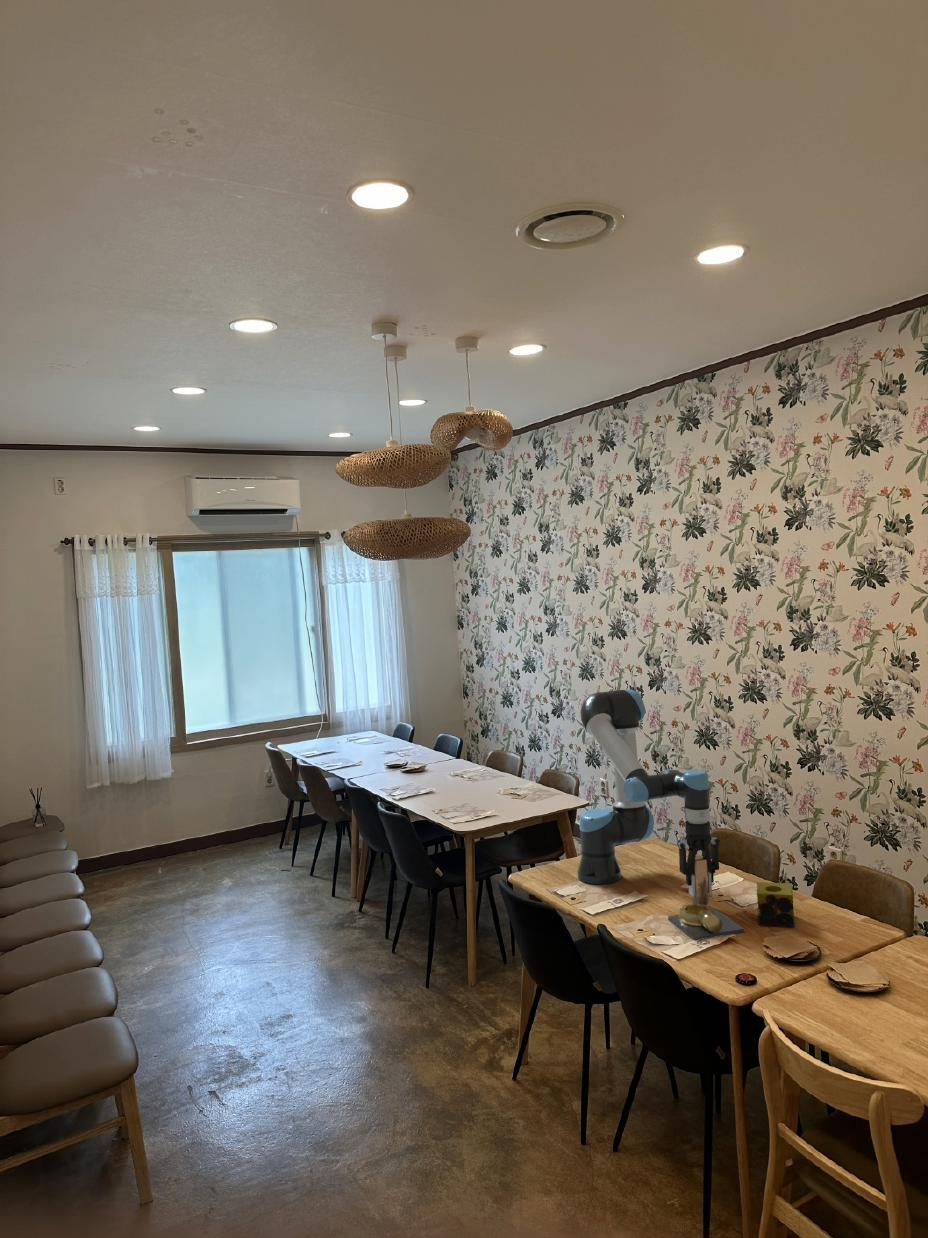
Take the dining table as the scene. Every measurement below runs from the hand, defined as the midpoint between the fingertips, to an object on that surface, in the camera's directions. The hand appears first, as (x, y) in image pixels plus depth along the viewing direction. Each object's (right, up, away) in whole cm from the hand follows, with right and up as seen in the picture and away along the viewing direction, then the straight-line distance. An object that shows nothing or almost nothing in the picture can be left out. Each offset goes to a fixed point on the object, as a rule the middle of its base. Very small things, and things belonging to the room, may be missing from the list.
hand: (700, 893), depth 265 cm
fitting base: (-3, -5, -14) cm, 15 cm away
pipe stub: (0, -3, 0) cm, 3 cm away
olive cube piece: (+19, -4, -14) cm, 24 cm away
